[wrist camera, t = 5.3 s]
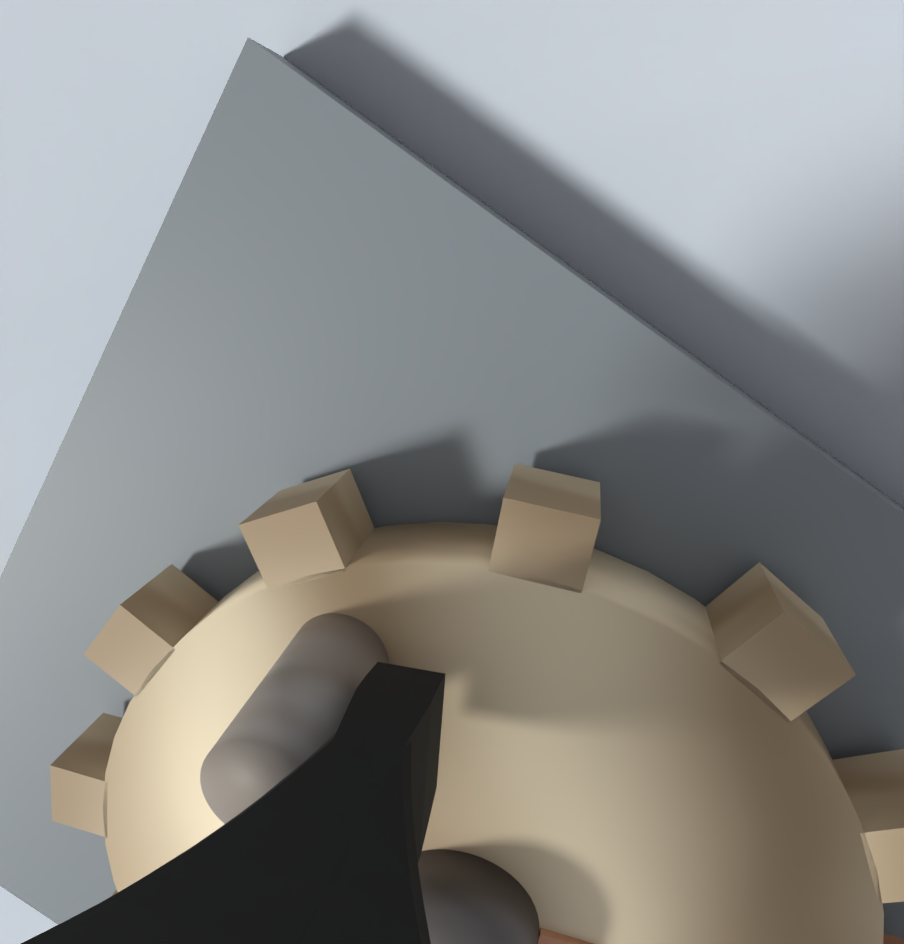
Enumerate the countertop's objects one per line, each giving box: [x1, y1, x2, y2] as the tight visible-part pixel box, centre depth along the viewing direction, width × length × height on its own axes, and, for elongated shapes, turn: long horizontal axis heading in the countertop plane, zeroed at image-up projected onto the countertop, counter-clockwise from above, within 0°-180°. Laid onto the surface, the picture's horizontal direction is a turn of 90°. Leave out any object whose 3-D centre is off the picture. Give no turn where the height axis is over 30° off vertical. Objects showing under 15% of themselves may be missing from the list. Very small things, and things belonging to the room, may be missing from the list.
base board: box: [0, 38, 904, 939], centre depth 14 cm, size 22×20×3 cm
